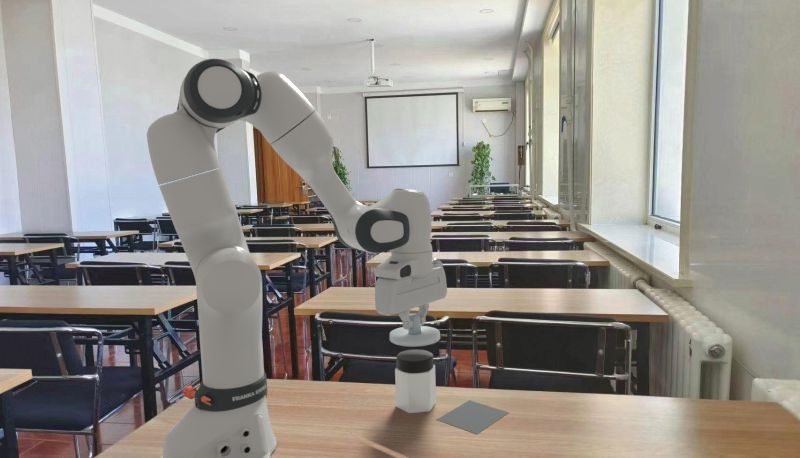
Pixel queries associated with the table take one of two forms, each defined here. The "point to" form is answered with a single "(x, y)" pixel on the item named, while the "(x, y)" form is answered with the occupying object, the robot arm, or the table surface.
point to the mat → (472, 416)
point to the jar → (415, 381)
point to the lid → (415, 334)
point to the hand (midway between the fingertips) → (414, 326)
